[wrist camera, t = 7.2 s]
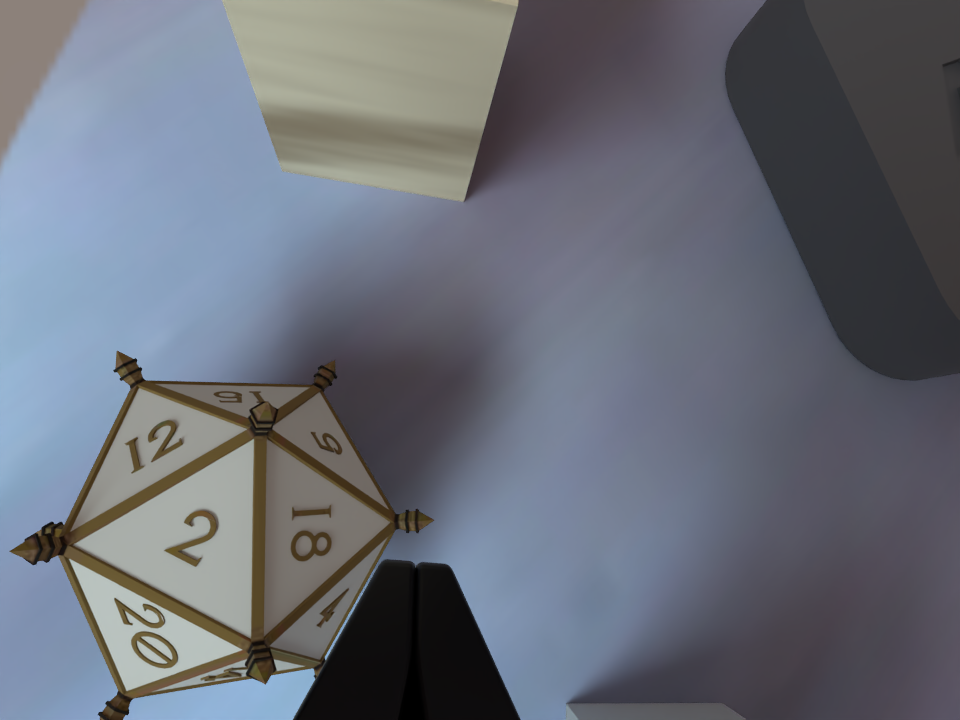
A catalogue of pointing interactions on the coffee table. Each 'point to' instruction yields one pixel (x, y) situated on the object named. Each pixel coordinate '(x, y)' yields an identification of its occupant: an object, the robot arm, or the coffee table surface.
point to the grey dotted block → (650, 711)
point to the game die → (220, 533)
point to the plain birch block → (375, 86)
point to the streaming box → (864, 164)
